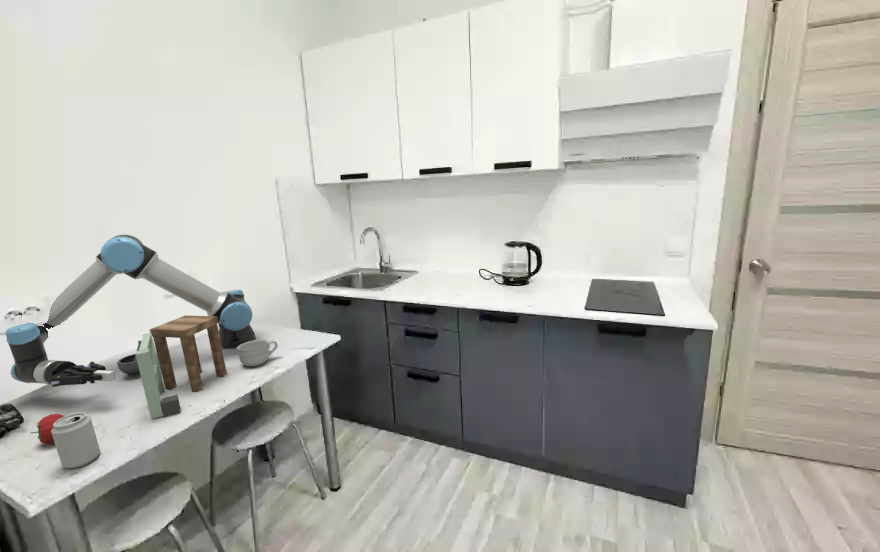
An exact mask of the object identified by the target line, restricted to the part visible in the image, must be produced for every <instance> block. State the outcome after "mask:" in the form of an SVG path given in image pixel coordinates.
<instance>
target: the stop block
mask: <svg viewBox="0 0 880 552" xmlns="http://www.w3.org/2000/svg"><path fill="white" fill-rule="evenodd" d="M178 395H179V394H177V393H176V394H173V395H169V396H166V397H165V396H164V397H161V401H162V403H161V404H162V409H163V413H164V416H163V417H164V418H167V417H172V416H175V415H178V414H181V404H180V399H179V396H178Z"/></svg>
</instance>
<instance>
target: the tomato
mask: <svg viewBox="0 0 880 552" xmlns="http://www.w3.org/2000/svg"><path fill="white" fill-rule="evenodd" d="M65 416H66V415H63V414H60V413H51V414H49V415H46V416H43V417H42V418H41V419H40V420H39V421H37V423H36V428H37V430H38V431H31V432H30V434H38V436H37V438H38V440H39V442H40V443H42V444H43V445H51V444H52V445H53V444H55V442H54V439H53V436H52V433H51V431H52V429H53V428H54V426H53V424H54V423H55V422H56V421H57V420H59V419H60V418H62V417H65Z"/></svg>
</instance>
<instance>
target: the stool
mask: <svg viewBox="0 0 880 552" xmlns="http://www.w3.org/2000/svg"><path fill="white" fill-rule="evenodd" d="M204 330H206V331H207V336H208V341H209V346H210V351H211V355H212V360H213V367H214V371H215V375H216V378H223V377H225V376H226V375H228V371H227V366H226V362H225V356H224V350H223V348H222V346H221V340H220V335H219V325H218V318H217V316H208V315H183V316H180V317H178V318H174V319H173V320H170V321H167V322H165V323H162V324H160V325H157V326H155V327H152V328H150V329H149V332H150V333H151V334H152V338H153V342H154V346H155V350H156V355H157V359H158V363H159V367H160V372H161V376H162V380H163V384H164V388H165V391H172V390H174V389H176V388H177V387H178V386H177V385H178V384H177V381H176V377H175V370H174V367H173V363H172V360H171V353H170V350H169V345H168V341H167V338H173V339H174V338H177V339H178V338H179V341H180V344H181V345H180V346H181V349H182V353H183V359H184V364H185V368H186V372H187V377H188V381H189V382H188V383H189V385H190V391H191V392H192V393H200V392H201V391H203V390H204V386H203V380H202V377H201V374H202V373H203V370H202V366H201V361H200V356H199V351H198V345H197V342H196V336H195V334H198V333H200V332H202V331H204ZM224 375H225V376H224Z"/></svg>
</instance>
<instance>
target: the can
mask: <svg viewBox="0 0 880 552" xmlns="http://www.w3.org/2000/svg"><path fill="white" fill-rule="evenodd" d="M64 416H65V417H62V418H60V419H59V420H57V421H56V422H55V423H54V424H53V426H54V428H53V429H52V431H51V433H52V436H53V439H54V442H55V443H54V445H55V448H56V451H57V454H58V457H59V461H60V464H61V466H62V467H63V468H65V469H66V468H68V469H78V468H80V467H83V466H86V465H88V464H91V462H93V461H94V460H96V459H97V457H98V456H99V454H100V452H101V449H100V445H99V442H98V439H97V435H96V432H95V427H94V425H93V421H92V418H91V417H90V416H88V415H87V413H85V412H74V413H71V414H67V415H64Z"/></svg>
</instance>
